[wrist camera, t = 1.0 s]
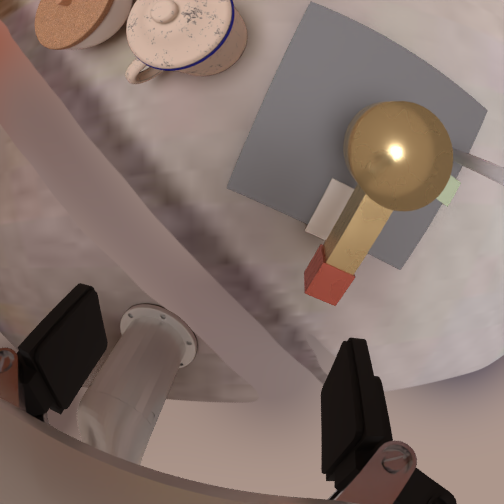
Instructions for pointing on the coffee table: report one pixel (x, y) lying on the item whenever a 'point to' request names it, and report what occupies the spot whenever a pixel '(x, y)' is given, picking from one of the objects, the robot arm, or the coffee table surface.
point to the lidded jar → (79, 22)
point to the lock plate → (336, 122)
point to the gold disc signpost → (380, 186)
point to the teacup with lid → (183, 37)
